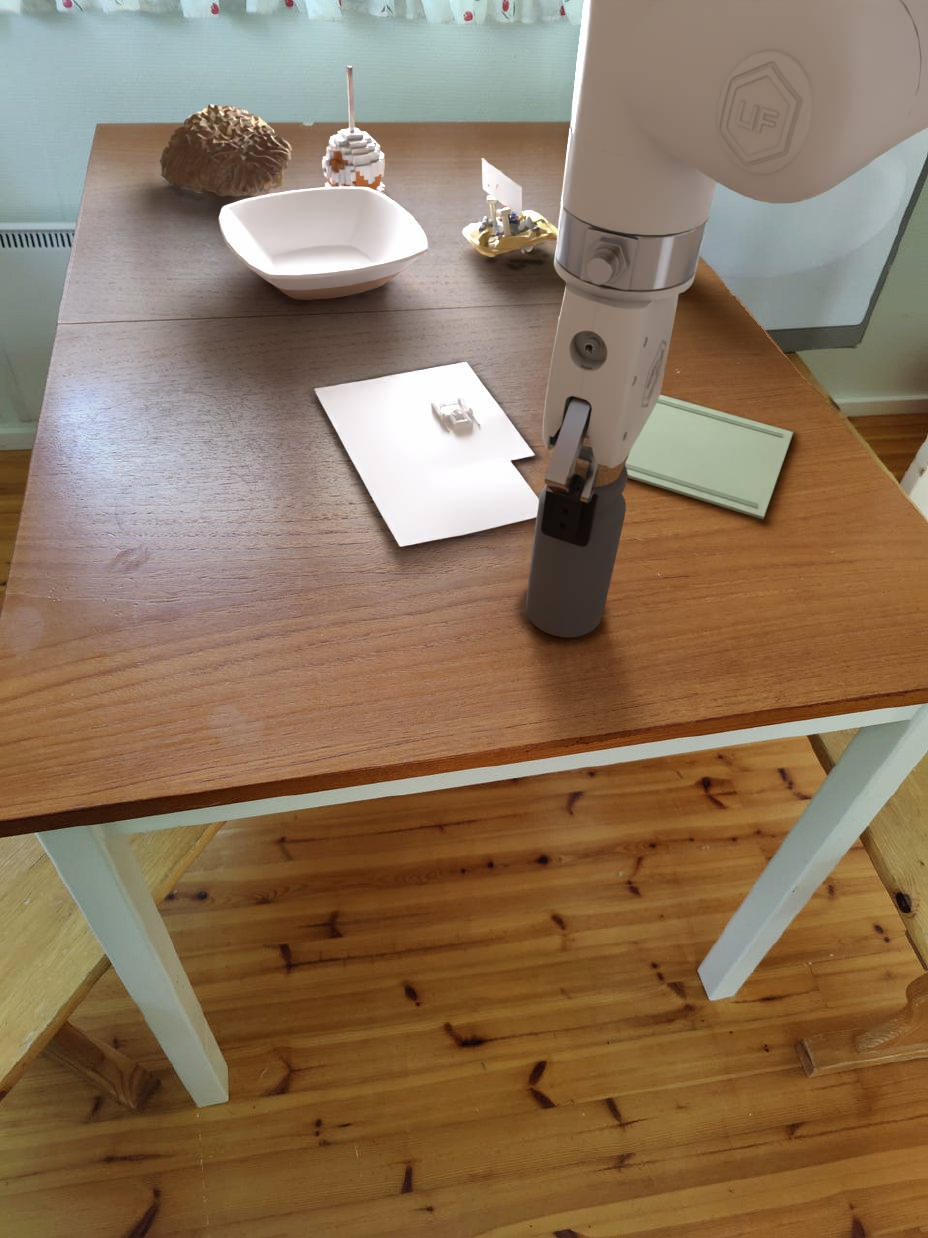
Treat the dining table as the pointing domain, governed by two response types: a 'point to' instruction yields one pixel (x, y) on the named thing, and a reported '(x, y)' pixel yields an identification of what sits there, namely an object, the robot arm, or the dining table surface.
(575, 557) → the bottle
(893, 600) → the dining table surface
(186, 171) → the coral
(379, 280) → the bowl
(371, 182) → the decorative ornament
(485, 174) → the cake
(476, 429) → the paper
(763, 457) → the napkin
